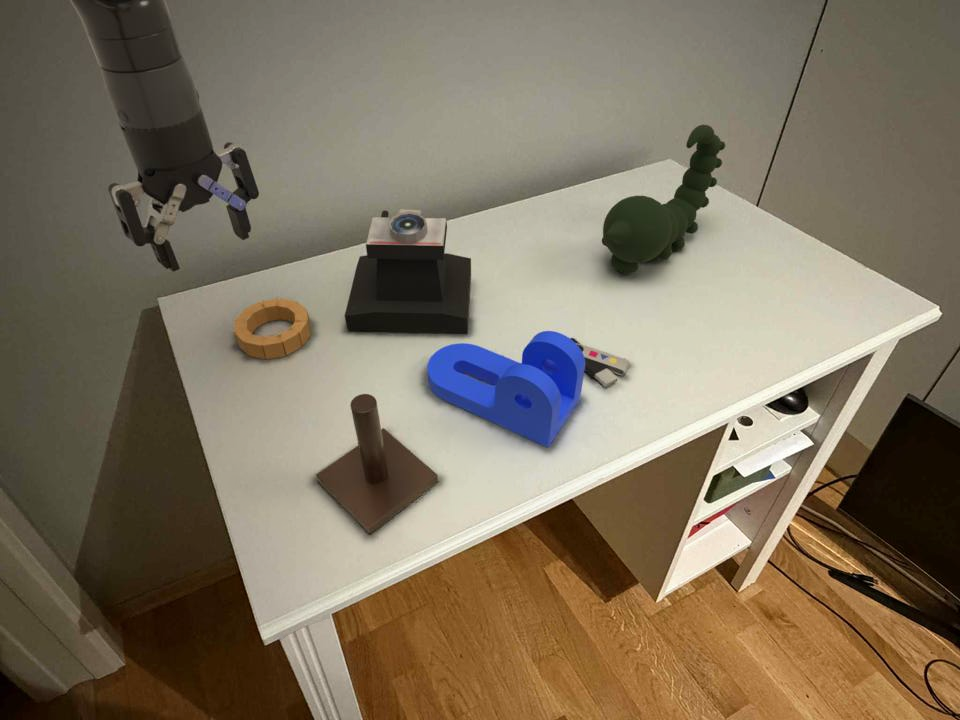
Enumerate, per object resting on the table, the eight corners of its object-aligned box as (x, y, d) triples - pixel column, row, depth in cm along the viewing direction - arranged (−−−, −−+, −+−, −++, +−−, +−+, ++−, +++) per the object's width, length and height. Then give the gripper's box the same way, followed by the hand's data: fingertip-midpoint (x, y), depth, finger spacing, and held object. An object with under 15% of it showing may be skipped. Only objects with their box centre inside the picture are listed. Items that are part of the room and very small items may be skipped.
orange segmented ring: (262, 369, 79) (258, 355, 78) (225, 334, 84) (220, 320, 82) (324, 334, 84) (321, 320, 82) (285, 303, 89) (282, 290, 87)
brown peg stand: (370, 535, 62) (353, 458, 54) (317, 481, 67) (294, 402, 59) (438, 481, 67) (432, 403, 59) (384, 434, 72) (372, 355, 63)
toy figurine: (662, 223, 107) (569, 273, 93) (694, 108, 95) (592, 146, 81) (712, 245, 102) (622, 301, 88) (752, 127, 90) (655, 171, 76)
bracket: (579, 400, 75) (588, 344, 69) (548, 447, 70) (555, 391, 64) (452, 347, 82) (450, 291, 76) (414, 386, 77) (409, 330, 71)
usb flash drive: (558, 348, 82) (559, 342, 81) (590, 333, 84) (591, 328, 83) (603, 389, 77) (604, 383, 76) (635, 372, 79) (637, 366, 78)
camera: (329, 252, 74) (350, 179, 84) (349, 336, 85) (365, 263, 95) (465, 254, 74) (470, 180, 84) (467, 338, 85) (472, 265, 95)
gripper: (207, 78, 66) (246, 215, 77) (65, 119, 59) (131, 264, 70) (245, 98, 62) (281, 239, 74) (99, 145, 55) (163, 294, 66)
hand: (208, 251), depth 72 cm, fingers open, 8 cm apart
